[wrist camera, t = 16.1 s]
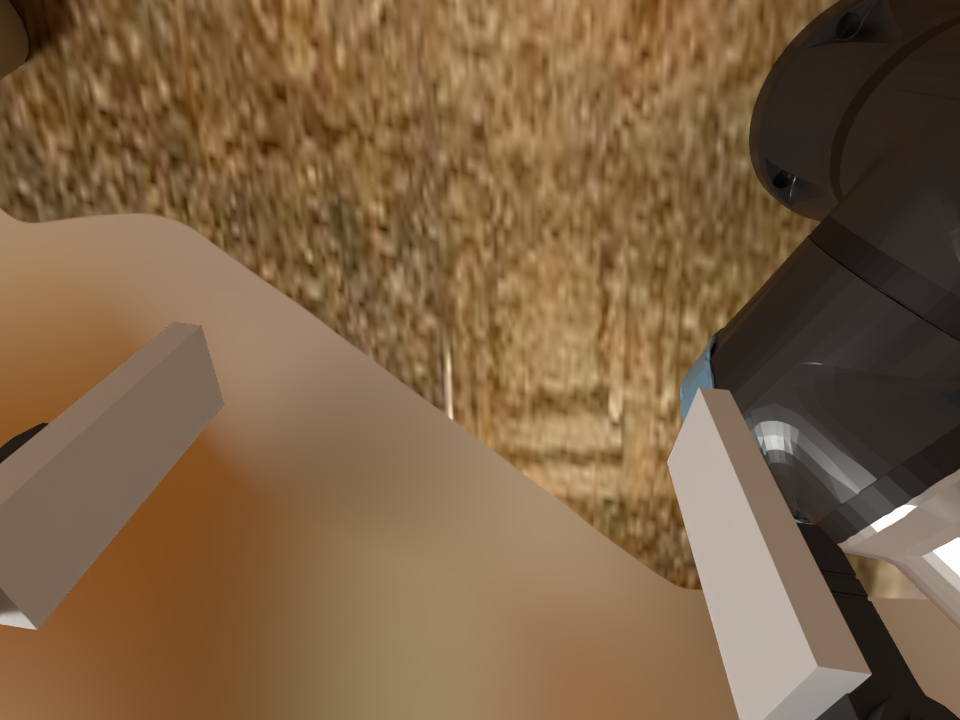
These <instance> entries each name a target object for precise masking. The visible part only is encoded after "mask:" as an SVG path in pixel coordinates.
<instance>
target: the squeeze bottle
mask: <svg viewBox="0 0 960 720" xmlns="http://www.w3.org/2000/svg"><path fill="white" fill-rule="evenodd" d="M27 56H28V36H27V33H26V30H25V28H24V25H23V22H22V20H21V18H20V17H19V15H18V14H17V12H16V11H15V9H14V7H13V6H12V4H11V3H10V2H9V1H8V0H0V80H1V79H2V78H4V77H5V76H7V75H8V74H10V73H11V72H12V71H14V70H15V69H17V68H18V67H19V66H21V65H22V64H23V63H24V61H25V59H26V57H27Z"/></svg>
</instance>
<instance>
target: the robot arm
mask: <svg viewBox="0 0 960 720" xmlns="http://www.w3.org/2000/svg"><path fill="white" fill-rule="evenodd" d="M749 146H750V155H751V160H752V164H753V167H754V170H755V173H756V175H757V177H758V179H759V181H760V182H761V184H762V185H763V187H764V188H765V189H766V190H767V192H768V193H769V194H770V195H771V196H773V197H774V198H775V199H776V200H778V201H779V202H780V203H781V204H783V205H784V206H785V207H787V208H788V209H790V210H791V211H793V212H795V213H797V214H799V215H802V216H804V217H807V218H810V219H813V220H817V221H822V222H821V223H820V224H819V225H818V226H817V227H816V228H815V230H814V231H813V232H812V233H811V234H810V235H808V236H807V237H806V238H805V240H804V241H803V242H802V243H801V244H800V245H799V246H798V247H797V248H796V250H795V251H794V252H793V253H792V254H791V255H790V256H789V257H788V258H787V260H786V261H785V262H784V263H783V264H782V265H781V266H780V267H779V268H778V270H777V271H776V272H775V273H774V274H773V275H772V276H771V277H770V278H769V279H768V281H767V282H766V283H765V284H764V285H763V286H762V287H761V288H760V289H759V291H758V292H757V293H756V294H755V295H754V296H753V297H752V298H751V299H750V300H749V301H748V303H747V304H746V305H745V306H744V307H743V308H742V309H741V310H740V311H739V312H738V313H737V314H736V315H735V316H734V317H733V319H732V320H731V321H730V322H729V323H728V324H727V325H726V326H725V327H724V328H722V329H720V330H719V331H718V332H717V333H715V334H714V336H712V338H711V339H710V341H709V343H708V345H707V348H706V350H705V351H704V352H703V353H702V355H701V356H700V357H699V358H698V360H697V361H696V362H695V363H694V364H693V366H692V367H691V368H690V369H689V370H688V372H687V373H686V375H685V377H684V379H683V381H682V384H681V388H680V399H681V405H680V410H681V415H682V419H683V422H684V423H683V426H682V428H681V430H680V433H679V435H678V438H677V440H676V442H675V445H674V447H673V449H672V452H671V454H670V457H669V459H668V461H667V463H668V467H669V470H670V474H671V477H672V481H673V484H674V488H675V492H676V495H677V499H678V502H679V506H680V509H681V513H682V517H683V520H684V524H685V527H686V531H687V534H688V538H689V542H690V545H691V549H692V552H693V556H694V559H695V563H696V566H697V570H698V574H699V577H700V581H701V584H702V588H703V591H704V595H705V599H706V602H707V606H708V609H709V612H710V616H711V620H712V624H713V627H714V631H715V634H716V638H717V641H718V645H719V649H720V652H721V655H722V659H723V663H724V666H725V670H726V673H727V677H728V681H729V684H730V687H731V691H732V695H733V698H734V702H735V706H736V709H737V713H738V716H739V719H740V720H960V719H959V718H958V717H957V716H956V715H955V714H953V713H952V712H951V711H950V710H949V709H947V708H946V707H945V706H943V705H942V704H940V703H938V702H936V701H935V700H933V699H931V698H929V697H927V696H926V695H925V694H924V692H923V691H922V689H921V688H920V686H919V685H918V683H917V682H916V680H915V678H914V676H913V675H912V673H911V671H910V669H909V668H908V666H907V664H906V662H905V661H904V659H903V657H902V655H901V654H900V652H899V650H898V648H897V646H896V645H895V643H894V641H893V639H892V637H891V636H890V634H889V633H888V630H887V629H886V627H885V625H884V623H883V622H882V620H881V618H880V616H879V614H878V613H877V611H876V609H875V607H874V606H873V604H872V602H871V601H868V599H867V597H868V595H867V593H866V591H865V590H864V588H863V586H862V584H861V582H860V581H859V579H856V577H855V575H856V574H855V572H854V570H853V568H852V567H851V565H850V563H849V561H848V559H847V558H846V556H845V554H844V552H847V553H852V554H856V555H861V556H866V557H870V558H875V559H880V560H883V561H885V562H888V563H890V564H892V565H895V566H896V567H897V568H898V569H899V570H900V571H901V572H902V573H903V574H904V575H905V576H906V577H907V578H908V579H909V580H910V581H911V582H912V583H913V584H914V585H915V586H916V587H917V588H918V589H919V590H920V591H921V592H922V593H923V594H924V595H925V596H926V597H927V598H928V599H929V600H930V601H931V602H932V603H933V604H934V605H935V606H936V607H937V608H938V609H939V610H940V611H941V612H942V613H943V614H944V615H945V616H946V617H947V618H948V619H949V620H950V621H951V622H952V623H953V624H954V625H955V626H956V627H957V628H958V629H959V630H960V0H840V1H839V2H837V3H836V4H834V5H833V6H831V7H830V8H828V9H827V10H825V11H824V12H823V13H821V14H820V15H819V16H818V17H816V18H815V19H814V20H813V21H812V22H811V23H809V24H808V25H807V26H806V27H805V28H804V29H803V30H802V31H801V32H800V33H799V34H798V35H797V36H796V37H795V38H794V39H793V41H792V42H791V43H790V44H789V45H788V46H787V48H786V49H785V50H784V52H783V53H782V54H781V55H780V57H779V58H778V60H777V61H776V63H775V64H774V66H773V67H772V69H771V71H770V72H769V74H768V76H767V78H766V80H765V82H764V84H763V86H762V88H761V90H760V93H759V95H758V98H757V101H756V104H755V107H754V110H753V114H752V119H751V125H750V134H749ZM223 405H224V401H223V398H222V395H221V391H220V388H219V384H218V381H217V377H216V374H215V371H214V367H213V364H212V361H211V357H210V354H209V350H208V347H207V343H206V340H205V337H204V333H203V329H202V326H201V325H194V324H185V323H177V322H173V323H172V324H171V325H169V326H168V327H167V328H166V329H165V330H163V331H162V332H161V333H160V334H158V335H157V336H156V337H155V338H153V339H152V340H151V341H150V342H149V343H147V344H146V345H145V346H144V347H142V348H141V349H140V350H139V351H138V352H136V353H135V354H134V355H133V356H131V357H130V358H129V359H128V360H127V361H125V362H124V363H123V364H122V365H121V366H119V367H118V368H117V369H116V370H114V371H113V372H112V373H111V374H109V375H108V376H107V377H106V378H105V379H103V380H102V381H101V382H100V383H98V384H97V385H96V386H95V387H94V388H92V389H91V390H90V391H89V392H87V393H86V394H85V395H84V396H83V397H81V398H80V399H79V400H78V401H76V402H75V403H74V404H73V405H72V406H70V407H69V408H68V409H67V410H65V411H64V412H63V413H62V414H61V415H59V416H58V417H57V418H56V419H54V420H53V421H52V422H51V423H50V424H48V423H41V424H39V425H37V426H35V427H33V428H31V429H29V430H27V431H25V432H23V433H22V434H20V435H18V436H16V437H14V438H12V439H11V440H10V441H9V442H7V443H6V444H5V445H4V446H2V447H1V448H0V624H3V625H9V626H16V627H23V628H29V629H36V630H38V629H39V627H40V626H41V625H42V624H43V622H44V621H45V620H46V619H47V618H48V617H49V615H50V614H51V613H52V612H53V610H54V609H55V608H56V607H57V606H58V604H59V603H60V602H61V601H62V600H63V598H64V597H65V596H66V595H67V594H68V592H69V591H70V590H71V589H72V588H73V586H74V585H75V584H76V582H77V581H78V580H79V579H80V578H81V577H82V576H83V574H84V573H85V572H86V571H87V569H88V568H89V567H90V566H91V565H92V563H93V562H94V561H95V560H96V559H97V557H98V556H99V555H100V554H101V553H102V551H103V550H104V549H105V548H106V547H107V545H108V544H109V543H110V542H111V540H112V539H113V538H114V537H115V536H116V534H117V533H118V532H119V531H120V530H121V528H122V527H123V526H124V525H125V524H126V522H127V521H128V520H129V519H130V518H131V516H132V515H133V514H134V512H135V511H136V510H137V509H138V508H139V507H140V506H141V504H142V503H143V502H144V501H145V500H146V498H147V497H148V496H149V495H150V494H151V492H152V491H153V490H154V489H155V487H156V486H157V485H158V484H159V483H160V481H161V480H162V479H163V478H164V476H165V475H166V474H167V473H168V472H169V470H170V469H171V468H172V467H173V466H174V464H175V463H176V462H177V461H178V460H179V459H180V457H181V456H182V455H183V453H184V452H185V451H186V450H187V449H188V448H189V446H190V445H191V444H192V443H193V442H194V440H195V439H196V438H197V437H198V436H199V434H200V433H201V432H202V431H203V430H204V428H205V427H206V426H207V425H208V424H209V422H210V421H211V420H212V419H213V417H214V416H215V415H216V414H217V413H218V411H219V410H220V409H221V408H222V407H223Z"/></svg>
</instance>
